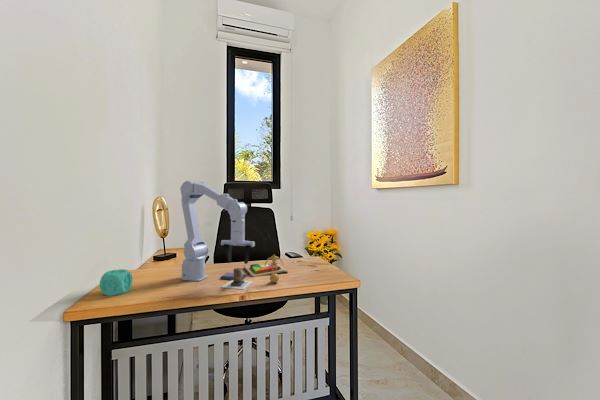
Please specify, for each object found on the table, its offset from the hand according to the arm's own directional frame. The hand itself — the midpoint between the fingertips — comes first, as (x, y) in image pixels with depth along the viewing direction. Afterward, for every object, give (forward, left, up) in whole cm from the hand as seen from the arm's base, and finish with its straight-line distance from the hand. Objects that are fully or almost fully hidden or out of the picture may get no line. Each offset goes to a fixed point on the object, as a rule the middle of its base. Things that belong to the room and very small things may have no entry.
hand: (237, 262), depth 119 cm
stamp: (0, 0, -9) cm, 9 cm away
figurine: (+14, +7, -10) cm, 18 cm away
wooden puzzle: (+4, +24, -10) cm, 26 cm away
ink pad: (-6, +9, -9) cm, 14 cm away
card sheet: (0, 0, -9) cm, 9 cm away
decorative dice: (-42, -19, -10) cm, 47 cm away
